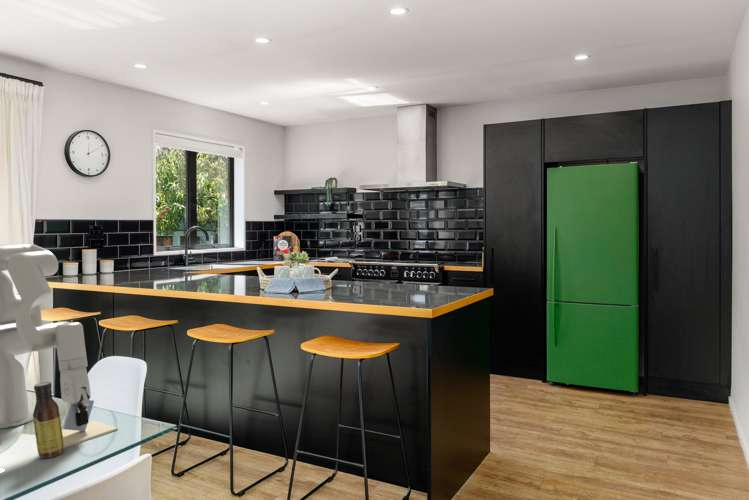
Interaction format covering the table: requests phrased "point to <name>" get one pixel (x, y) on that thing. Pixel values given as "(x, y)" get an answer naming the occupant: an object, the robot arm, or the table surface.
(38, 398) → the sauce bottle
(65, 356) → the robot arm
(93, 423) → the mat
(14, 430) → the table surface
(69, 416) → the tile
